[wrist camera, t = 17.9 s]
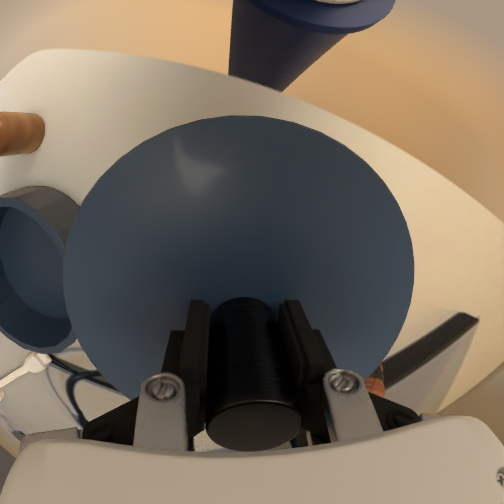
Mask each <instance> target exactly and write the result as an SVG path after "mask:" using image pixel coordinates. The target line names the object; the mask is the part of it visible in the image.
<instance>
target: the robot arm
mask: <svg viewBox="0 0 504 504" xmlns="http://www.w3.org/2000/svg"><path fill="white" fill-rule="evenodd" d="M314 1H317V2H322V3H328V4H350V3H355V2H358V1H361V0H314ZM277 325H278V328H279V332H280V335H281V339H282V342H283V346H284V350H285V353H286V357H287V360H288V364H289V367H290V371H291V375H292V378H293V382H294V385H295V389H296V392H297V396H298V400H299V403H300V407H301V410H302V414H303V418H304V420H303V425H302V428H303V429H305V430H307V440H308V446H307V447H299V448H291V449H282V450H268V451H251V452H195V448H194V436H196V435H197V434H198V433H200V432H201V431H204V423H206V398H207V379H208V357H209V338H210V304H209V303H205V302H204V300H195V299H191V301H190V306H189V311H188V316H187V322H186V327H185V330H171V332H170V335H169V340H168V344H167V348H166V352H165V356H164V361H163V365H162V370H161V372H160V373H155V374H152V375H150V376H148V377H147V378H146V379H145V380H144V381H143V382H142V385H141V389H140V395H139V396H138V397H136V398H134V399H133V400H131V401H129V402H127V403H125V404H123V405H121V406H119V407H117V408H115V409H113V410H111V411H110V412H108V413H106V414H104V415H102V416H100V417H98V418H96V419H93V420H92V421H90V422H89V423H87V425H86V426H85V427H84V429H80V430H78V428H77V427H74V428H67V429H61V430H54V431H47V432H38V433H32V434H28V435H27V436H25V437H24V438H23V440H22V441H21V445H20V454H19V456H18V457H17V459H16V461H15V462H14V464H13V466H12V468H11V470H10V472H9V474H8V477H7V479H6V482H5V484H4V487H3V490H2V492H1V496H0V504H504V446H503V445H502V443H501V442H500V441H499V439H498V438H497V437H496V435H495V434H494V433H493V432H492V431H491V429H490V428H488V426H487V425H486V424H485V423H483V422H482V421H481V420H479V419H477V418H475V417H470V416H446V415H434V414H424V413H421V415H420V416H418V415H417V414H416V413H415V412H414V411H413V410H411V409H409V408H407V407H405V406H402V405H400V404H397V403H395V402H392V401H390V400H387V399H385V398H382V397H380V396H378V395H375V394H373V393H370V392H368V391H367V388H366V386H365V383H364V381H363V379H362V377H361V376H360V375H359V374H358V373H357V372H355V371H353V370H351V369H347V368H337V366H336V364H335V362H334V360H333V358H332V355H331V353H330V351H329V349H328V347H327V345H326V343H325V340H324V338H323V336H322V334H321V332H320V330H319V329H312V328H311V326H310V324H309V321H308V319H307V317H306V315H305V312H304V310H303V308H302V306H301V303H300V301H299V300H285V301H284V303H280V306H279V315H278V324H277Z"/></svg>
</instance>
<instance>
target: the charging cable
mask: <svg viewBox="0 0 504 504" xmlns="http://www.w3.org/2000/svg"><path fill="white" fill-rule="evenodd" d="M51 361H52V360H51V358H50V356H49V355H48V354H40V353H37V352H34V351H33V352H32V353H30V354H29V355H28V356H27V357H26V359H25V362H24V365H23V366H22V367H20V368H18V369H17V370H15V371H14V372H12V373H11V374H9V375H7V376H6V377H4V378H3V379H1V380H0V401H1V400H2V398H3V396H4V392H3V391H2V389H1V387H2V386H4V385H6V384H7V383H9V382H11V381H13V380H14V379H16V378H18V377H19V376H21V375H23V374H25V373H26V372H28V371H30V372H31V373H32V372H34V373H39V372H41V371H43V370H44V369H46V368H47V367H48V365H49V362H51Z"/></svg>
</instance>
